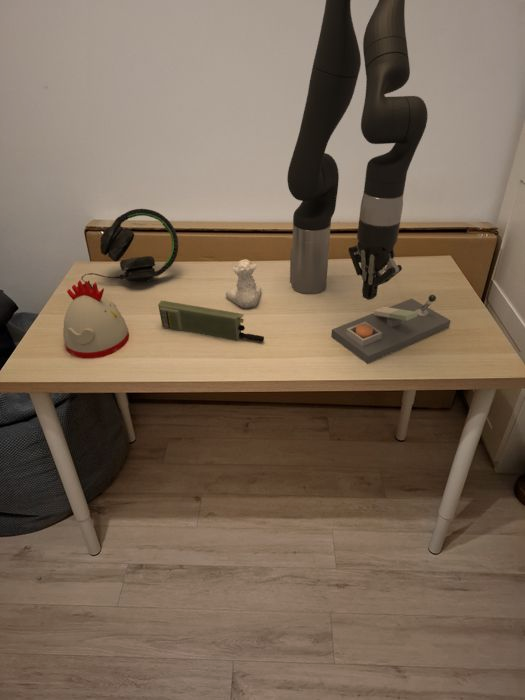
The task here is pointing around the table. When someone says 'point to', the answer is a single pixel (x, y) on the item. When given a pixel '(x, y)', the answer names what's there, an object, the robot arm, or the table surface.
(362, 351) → the panel
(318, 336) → the table surface
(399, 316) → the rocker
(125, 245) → the headset
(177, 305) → the handheld radio
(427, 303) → the lever
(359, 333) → the button
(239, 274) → the sitting furry creature
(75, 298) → the kitchen timer
